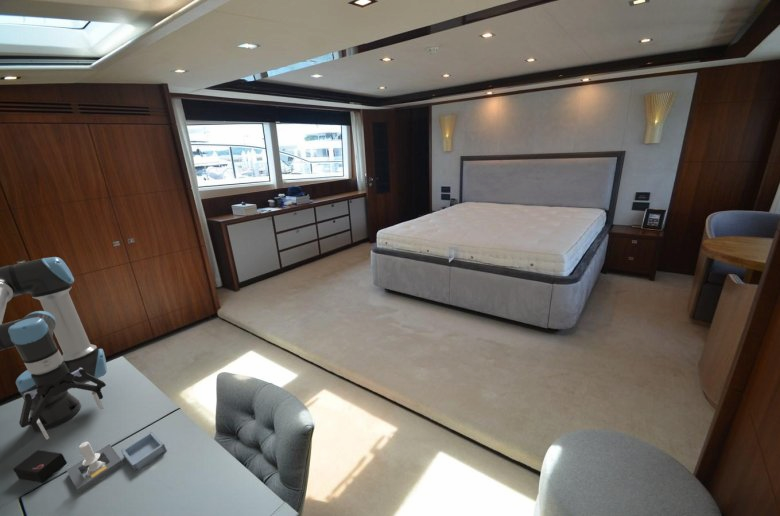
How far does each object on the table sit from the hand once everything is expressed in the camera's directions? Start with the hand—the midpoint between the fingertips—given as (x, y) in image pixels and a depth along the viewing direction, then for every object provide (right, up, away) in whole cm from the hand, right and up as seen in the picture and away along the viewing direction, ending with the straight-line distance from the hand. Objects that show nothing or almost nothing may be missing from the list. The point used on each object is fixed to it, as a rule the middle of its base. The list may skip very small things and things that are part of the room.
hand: (75, 421), depth 108 cm
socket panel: (+1, -20, +7) cm, 21 cm away
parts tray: (+14, -17, +11) cm, 25 cm away
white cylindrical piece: (+1, -20, +7) cm, 21 cm away
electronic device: (-18, -21, +8) cm, 29 cm away
